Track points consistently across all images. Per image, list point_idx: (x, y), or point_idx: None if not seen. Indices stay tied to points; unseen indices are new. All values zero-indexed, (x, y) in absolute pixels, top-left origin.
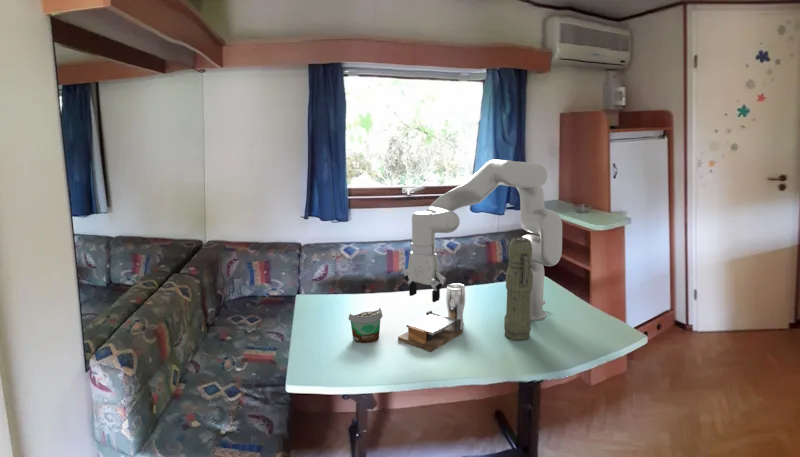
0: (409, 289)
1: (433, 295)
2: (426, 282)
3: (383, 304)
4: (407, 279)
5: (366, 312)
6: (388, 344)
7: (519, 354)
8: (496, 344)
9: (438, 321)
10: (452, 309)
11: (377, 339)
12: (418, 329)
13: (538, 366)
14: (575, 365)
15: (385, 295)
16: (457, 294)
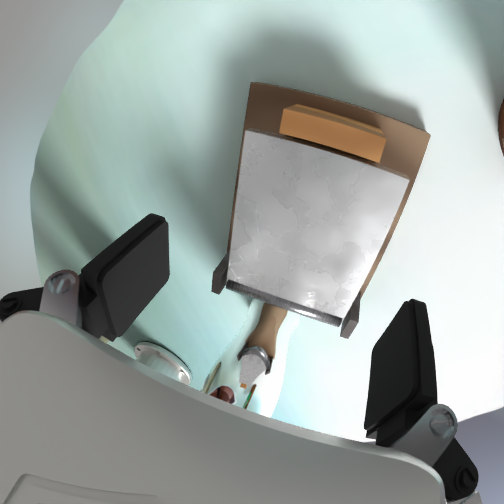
0: (430, 350)
1: (116, 244)
2: (41, 344)
3: (499, 371)
4: (454, 459)
5: None
6: (447, 89)
7: (80, 195)
8: (130, 225)
9: (281, 260)
10: (253, 339)
11: (499, 121)
12: (320, 125)
13: (46, 163)
14: (30, 197)
15: (488, 404)
16: (211, 386)
